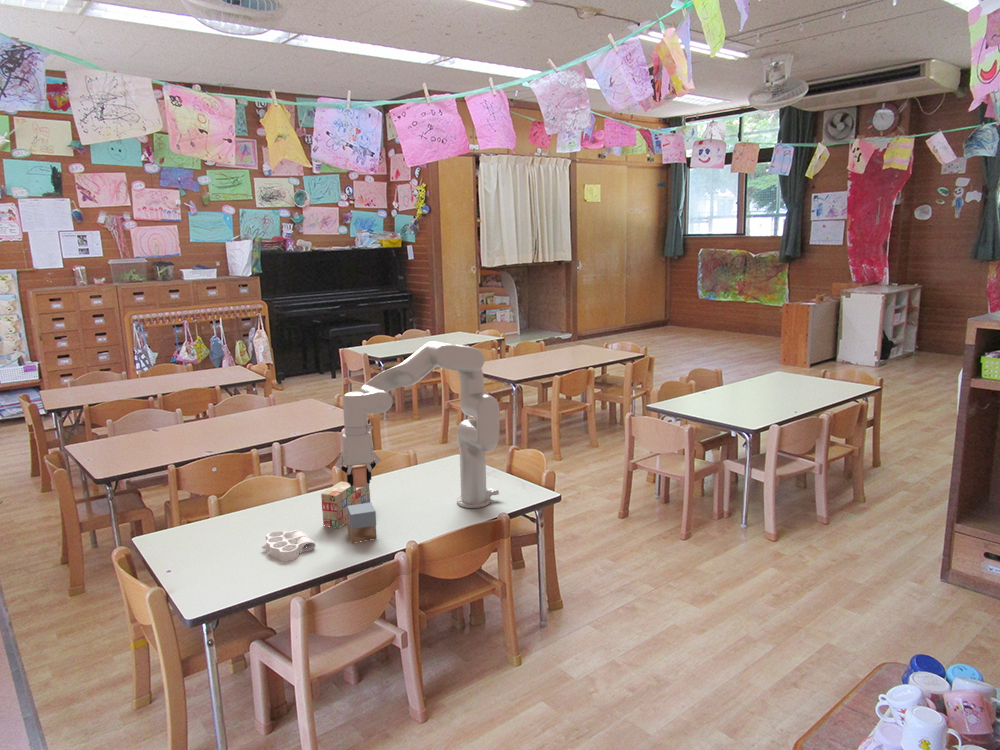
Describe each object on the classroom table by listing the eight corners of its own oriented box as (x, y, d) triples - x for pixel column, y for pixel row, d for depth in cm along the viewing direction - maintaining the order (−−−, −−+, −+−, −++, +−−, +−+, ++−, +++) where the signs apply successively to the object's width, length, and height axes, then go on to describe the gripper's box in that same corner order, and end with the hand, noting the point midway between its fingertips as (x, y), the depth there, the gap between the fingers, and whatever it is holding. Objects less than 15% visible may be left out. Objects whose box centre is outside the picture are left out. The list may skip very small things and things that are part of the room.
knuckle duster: (319, 553, 221) (273, 566, 213) (299, 533, 236) (256, 545, 228) (318, 543, 221) (272, 556, 212) (299, 524, 235) (255, 535, 227)
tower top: (372, 516, 236) (371, 502, 235) (376, 525, 229) (375, 511, 228) (348, 519, 234) (347, 505, 233) (351, 529, 226) (350, 514, 225)
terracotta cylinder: (365, 481, 232) (364, 464, 231) (368, 486, 227) (367, 468, 226) (350, 483, 230) (349, 466, 229) (353, 488, 225) (352, 470, 224)
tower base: (371, 530, 237) (370, 516, 236) (376, 539, 230) (375, 525, 229) (347, 534, 234) (347, 520, 233) (352, 543, 227) (351, 529, 226)
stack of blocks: (356, 503, 260) (354, 472, 258) (371, 505, 258) (369, 474, 256) (323, 526, 241) (320, 492, 238) (338, 529, 239) (336, 495, 236)
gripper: (379, 424, 232) (382, 476, 235) (327, 430, 225) (331, 483, 229) (385, 429, 225) (387, 483, 228) (331, 436, 218) (335, 491, 222)
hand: (359, 483), depth 229 cm, fingers closed on terracotta cylinder, 4 cm apart
